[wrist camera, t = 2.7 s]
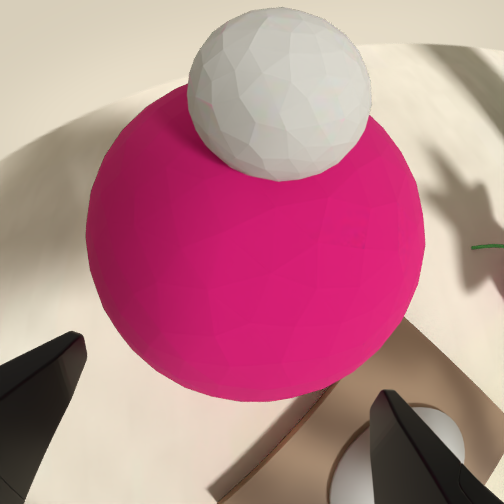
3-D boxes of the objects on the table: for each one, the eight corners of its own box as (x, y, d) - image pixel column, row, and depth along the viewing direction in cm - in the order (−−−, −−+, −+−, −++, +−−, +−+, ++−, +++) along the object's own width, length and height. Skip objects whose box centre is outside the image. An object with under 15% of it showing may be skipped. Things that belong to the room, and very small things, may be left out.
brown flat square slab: (384, 586, 13) (391, 594, 11) (217, 502, 16) (216, 511, 15) (508, 426, 18) (520, 427, 17) (385, 310, 22) (395, 305, 20)
